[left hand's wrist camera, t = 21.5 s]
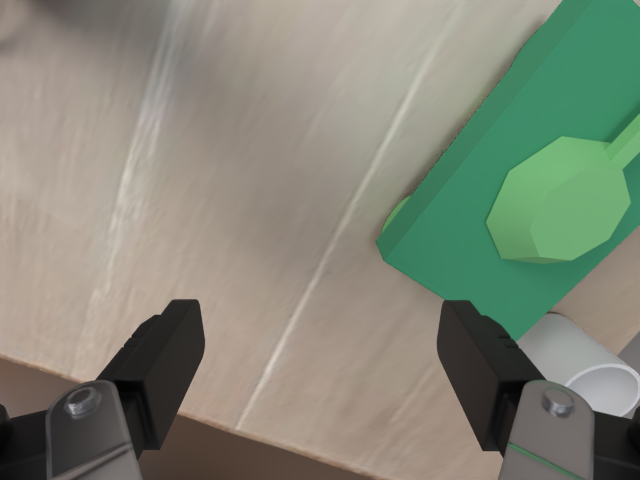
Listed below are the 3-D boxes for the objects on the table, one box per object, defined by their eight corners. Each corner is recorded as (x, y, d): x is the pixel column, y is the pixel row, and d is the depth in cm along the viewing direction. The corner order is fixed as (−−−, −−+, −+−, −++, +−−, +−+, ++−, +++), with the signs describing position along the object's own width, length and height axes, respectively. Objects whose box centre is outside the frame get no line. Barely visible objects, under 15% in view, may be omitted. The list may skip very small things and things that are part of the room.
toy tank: (924, 18, 23) (535, 367, 34) (723, 46, 34) (479, 300, 45) (776, -185, 19) (391, 279, 30) (606, -78, 31) (371, 230, 41)
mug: (576, 302, 45) (646, 355, 35) (575, 356, 48) (639, 418, 39) (490, 320, 46) (536, 376, 36) (495, 371, 49) (538, 436, 40)
